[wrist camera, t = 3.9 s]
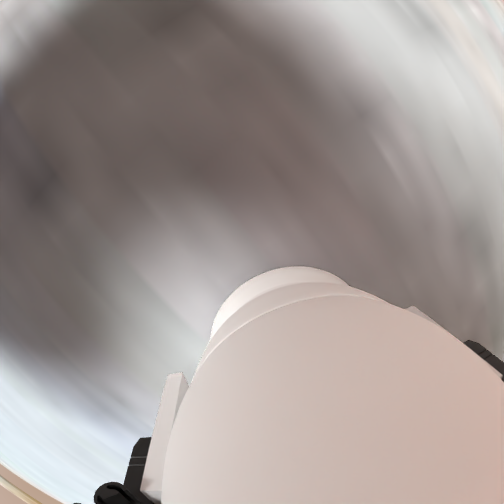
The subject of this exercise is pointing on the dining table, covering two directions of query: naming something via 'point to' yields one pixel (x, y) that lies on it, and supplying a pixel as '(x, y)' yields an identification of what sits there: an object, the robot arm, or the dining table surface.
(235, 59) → the dining table surface
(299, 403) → the jar
